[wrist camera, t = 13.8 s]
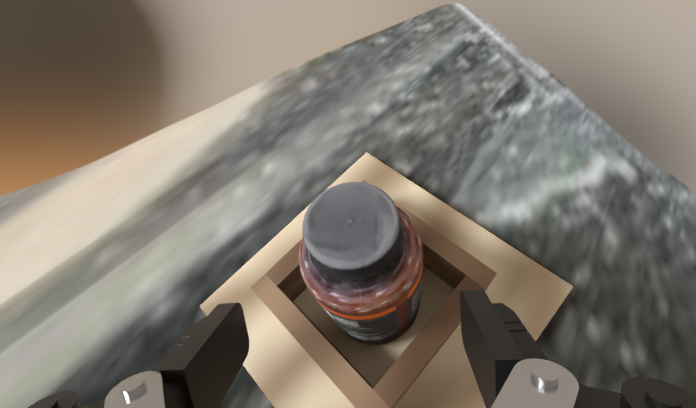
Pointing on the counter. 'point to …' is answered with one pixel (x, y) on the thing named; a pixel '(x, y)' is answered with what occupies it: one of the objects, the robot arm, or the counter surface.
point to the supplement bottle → (362, 261)
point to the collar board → (413, 346)
